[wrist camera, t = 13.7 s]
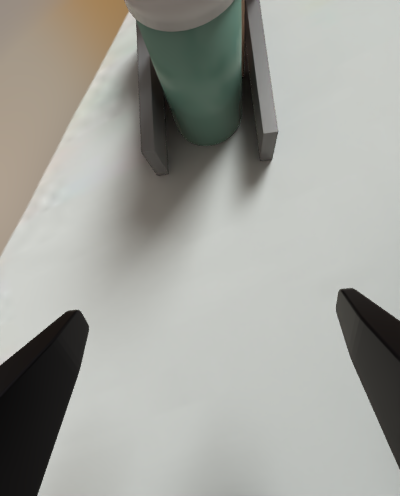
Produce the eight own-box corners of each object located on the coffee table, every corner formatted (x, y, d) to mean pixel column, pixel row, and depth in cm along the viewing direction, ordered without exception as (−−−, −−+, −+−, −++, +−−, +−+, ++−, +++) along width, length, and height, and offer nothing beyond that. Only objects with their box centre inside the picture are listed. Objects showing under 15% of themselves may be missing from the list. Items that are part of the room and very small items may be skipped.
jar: (232, 154, 24) (222, 7, 12) (164, 139, 25) (91, -7, 13) (252, 89, 25) (262, -110, 13) (185, 78, 26) (136, -113, 14)
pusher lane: (272, 159, 23) (284, 102, 17) (157, 175, 25) (124, 128, 18) (252, 12, 26) (255, -88, 19) (150, 34, 28) (119, -52, 21)
